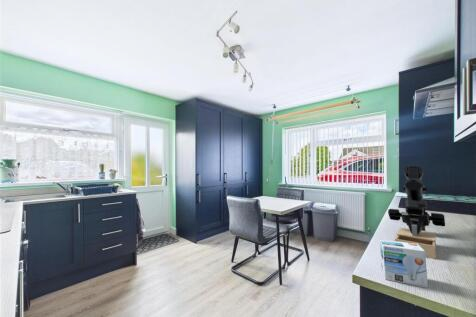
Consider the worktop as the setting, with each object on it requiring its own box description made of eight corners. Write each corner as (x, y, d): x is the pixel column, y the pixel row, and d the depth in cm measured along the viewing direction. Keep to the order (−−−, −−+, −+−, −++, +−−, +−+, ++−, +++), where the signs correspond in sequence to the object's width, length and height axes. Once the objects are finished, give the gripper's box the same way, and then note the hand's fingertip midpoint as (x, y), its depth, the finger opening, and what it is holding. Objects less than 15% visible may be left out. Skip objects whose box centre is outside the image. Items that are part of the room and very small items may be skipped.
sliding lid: (400, 228, 96) (399, 218, 97) (436, 234, 87) (435, 222, 88) (396, 234, 88) (395, 223, 88) (435, 241, 79) (434, 228, 79)
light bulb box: (384, 280, 62) (382, 245, 63) (381, 270, 68) (378, 238, 69) (429, 288, 57) (426, 251, 58) (421, 277, 63) (418, 243, 64)
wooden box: (400, 242, 92) (399, 232, 92) (436, 249, 83) (435, 238, 83) (396, 250, 83) (395, 238, 84) (435, 259, 75) (434, 246, 75)
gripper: (387, 192, 95) (384, 219, 87) (442, 194, 82) (445, 227, 73) (391, 205, 100) (389, 232, 92) (443, 210, 86) (446, 242, 78)
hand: (414, 233), depth 84 cm, fingers closed on sliding lid, 2 cm apart
